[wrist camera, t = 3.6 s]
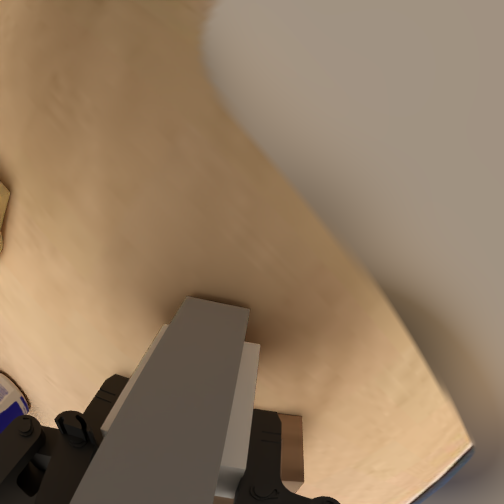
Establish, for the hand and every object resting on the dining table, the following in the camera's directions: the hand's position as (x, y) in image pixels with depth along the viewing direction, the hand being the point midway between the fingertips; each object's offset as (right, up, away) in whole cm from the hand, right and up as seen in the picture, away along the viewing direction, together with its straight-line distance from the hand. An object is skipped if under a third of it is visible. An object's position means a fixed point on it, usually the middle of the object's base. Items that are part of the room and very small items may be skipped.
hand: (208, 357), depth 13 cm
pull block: (-2, -10, +5) cm, 11 cm away
